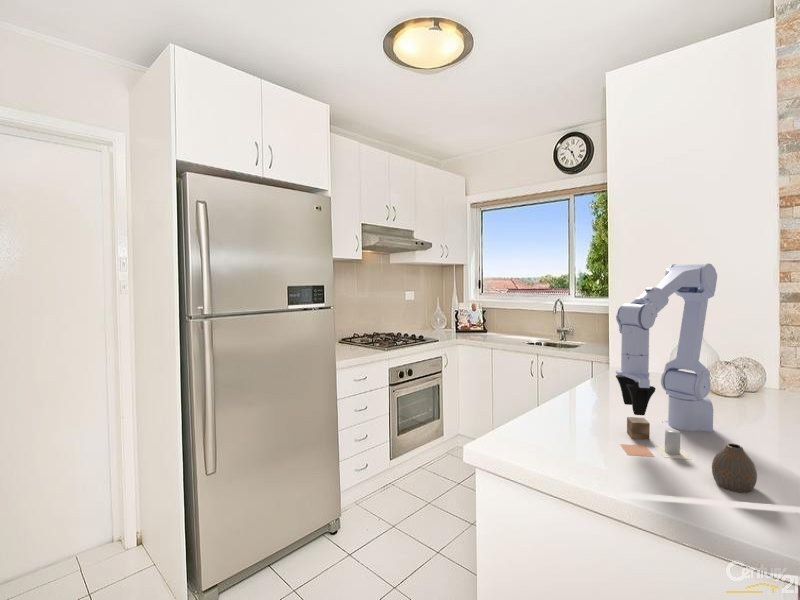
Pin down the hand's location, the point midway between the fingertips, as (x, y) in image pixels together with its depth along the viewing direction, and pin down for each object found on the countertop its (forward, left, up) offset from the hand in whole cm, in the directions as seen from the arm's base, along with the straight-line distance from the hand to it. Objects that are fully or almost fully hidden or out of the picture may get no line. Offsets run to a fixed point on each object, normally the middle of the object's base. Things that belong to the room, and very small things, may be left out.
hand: (633, 409), depth 101 cm
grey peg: (-7, +3, -9) cm, 12 cm away
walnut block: (-3, -6, -10) cm, 12 cm away
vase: (-13, +17, -10) cm, 24 cm away
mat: (-3, +3, -10) cm, 11 cm away
